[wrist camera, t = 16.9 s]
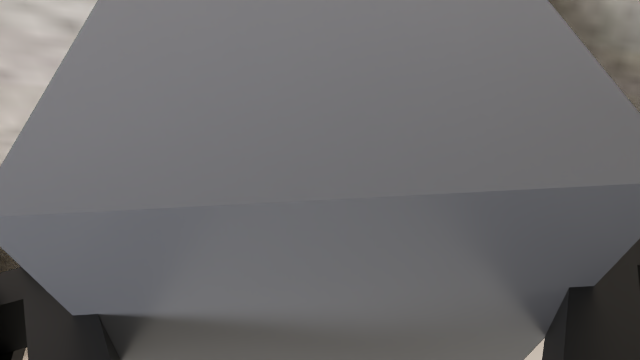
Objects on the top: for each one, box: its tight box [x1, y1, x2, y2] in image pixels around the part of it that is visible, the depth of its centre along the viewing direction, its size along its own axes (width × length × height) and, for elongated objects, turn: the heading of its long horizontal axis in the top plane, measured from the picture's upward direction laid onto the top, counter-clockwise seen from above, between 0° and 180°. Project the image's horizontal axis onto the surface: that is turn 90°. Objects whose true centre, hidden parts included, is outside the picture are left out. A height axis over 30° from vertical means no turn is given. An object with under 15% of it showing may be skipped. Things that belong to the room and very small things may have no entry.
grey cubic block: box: [0, 0, 640, 360], centre depth 13 cm, size 10×10×9 cm
